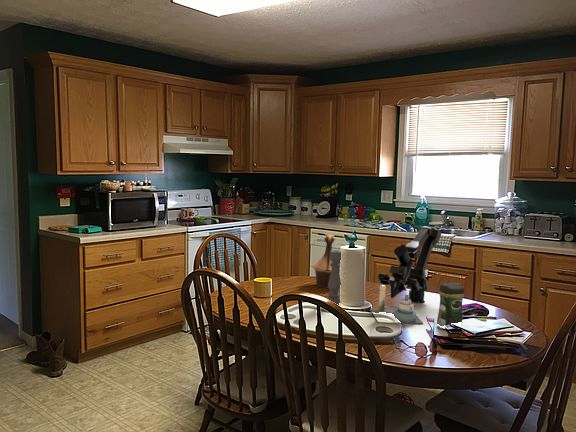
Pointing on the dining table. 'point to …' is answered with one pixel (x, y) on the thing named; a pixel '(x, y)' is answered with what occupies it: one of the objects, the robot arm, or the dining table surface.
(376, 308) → the mat
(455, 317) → the coffee jar
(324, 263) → the brown tall piece
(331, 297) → the candle holder
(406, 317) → the teal round piece
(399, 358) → the dining table surface
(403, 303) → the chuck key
